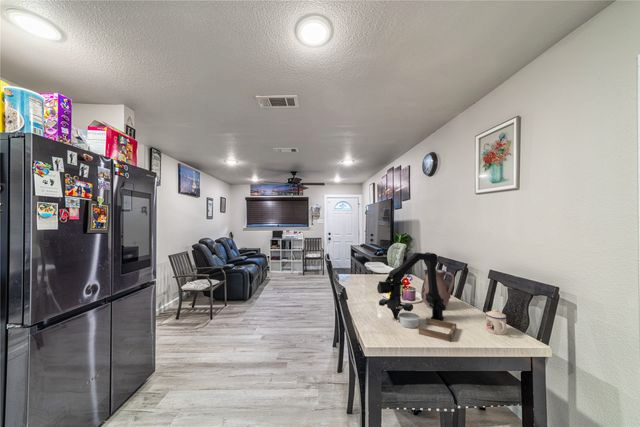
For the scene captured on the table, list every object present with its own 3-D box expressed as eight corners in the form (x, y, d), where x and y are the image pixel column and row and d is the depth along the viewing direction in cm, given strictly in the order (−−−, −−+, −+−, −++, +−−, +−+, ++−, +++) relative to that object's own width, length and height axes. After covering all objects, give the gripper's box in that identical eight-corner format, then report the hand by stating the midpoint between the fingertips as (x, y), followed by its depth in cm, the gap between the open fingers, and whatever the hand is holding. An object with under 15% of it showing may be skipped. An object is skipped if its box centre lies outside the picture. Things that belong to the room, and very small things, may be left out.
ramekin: (411, 331, 136) (411, 321, 136) (394, 324, 145) (394, 314, 145) (424, 326, 142) (423, 316, 142) (407, 319, 151) (407, 310, 152)
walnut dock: (426, 323, 146) (426, 317, 146) (456, 329, 137) (456, 323, 138) (418, 334, 132) (418, 328, 132) (451, 341, 123) (450, 335, 124)
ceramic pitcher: (422, 301, 186) (421, 267, 187) (454, 305, 176) (454, 269, 177) (420, 309, 170) (419, 271, 171) (456, 313, 161) (455, 274, 162)
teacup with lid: (482, 327, 139) (482, 306, 140) (500, 328, 138) (499, 306, 139) (495, 337, 128) (494, 314, 128) (514, 338, 127) (514, 314, 127)
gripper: (374, 293, 148) (375, 320, 147) (407, 298, 137) (407, 328, 136) (382, 289, 157) (382, 314, 156) (413, 294, 146) (413, 321, 145)
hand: (395, 319), depth 148 cm, fingers closed
